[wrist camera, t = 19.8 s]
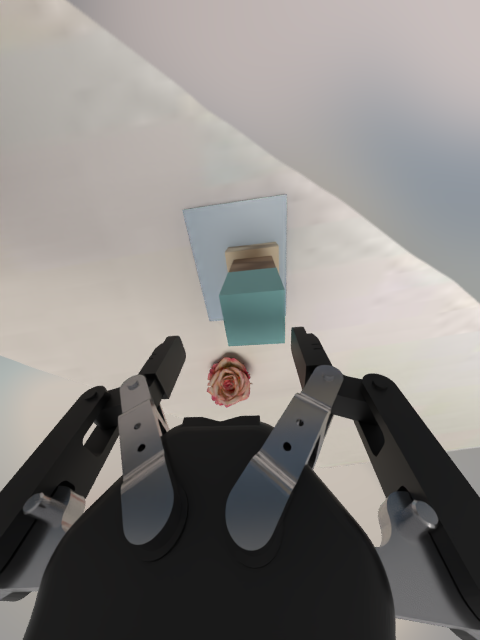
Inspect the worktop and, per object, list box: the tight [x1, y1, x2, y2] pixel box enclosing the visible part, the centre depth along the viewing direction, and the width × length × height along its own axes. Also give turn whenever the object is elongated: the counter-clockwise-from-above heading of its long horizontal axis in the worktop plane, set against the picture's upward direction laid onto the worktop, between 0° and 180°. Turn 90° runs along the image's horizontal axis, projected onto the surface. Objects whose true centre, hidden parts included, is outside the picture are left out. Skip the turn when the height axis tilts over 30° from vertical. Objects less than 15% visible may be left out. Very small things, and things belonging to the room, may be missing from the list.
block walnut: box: [229, 256, 276, 272], centre depth 23 cm, size 5×5×6 cm
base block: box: [225, 242, 279, 273], centre depth 27 cm, size 7×7×4 cm
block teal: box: [219, 268, 285, 346], centre depth 18 cm, size 5×5×6 cm
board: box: [183, 194, 287, 321], centre depth 29 cm, size 14×18×1 cm
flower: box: [207, 357, 252, 408], centre depth 39 cm, size 10×9×8 cm
